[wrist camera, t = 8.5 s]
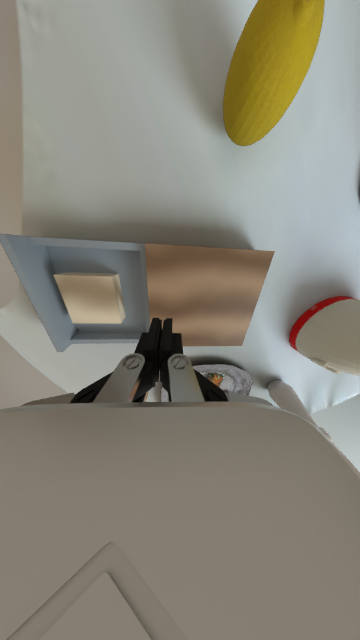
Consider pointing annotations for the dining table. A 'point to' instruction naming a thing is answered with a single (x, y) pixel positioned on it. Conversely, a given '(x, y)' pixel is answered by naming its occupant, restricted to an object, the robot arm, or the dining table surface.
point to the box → (87, 257)
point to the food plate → (237, 380)
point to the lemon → (269, 65)
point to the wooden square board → (205, 290)
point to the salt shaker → (290, 401)
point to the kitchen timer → (330, 334)
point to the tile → (92, 297)
